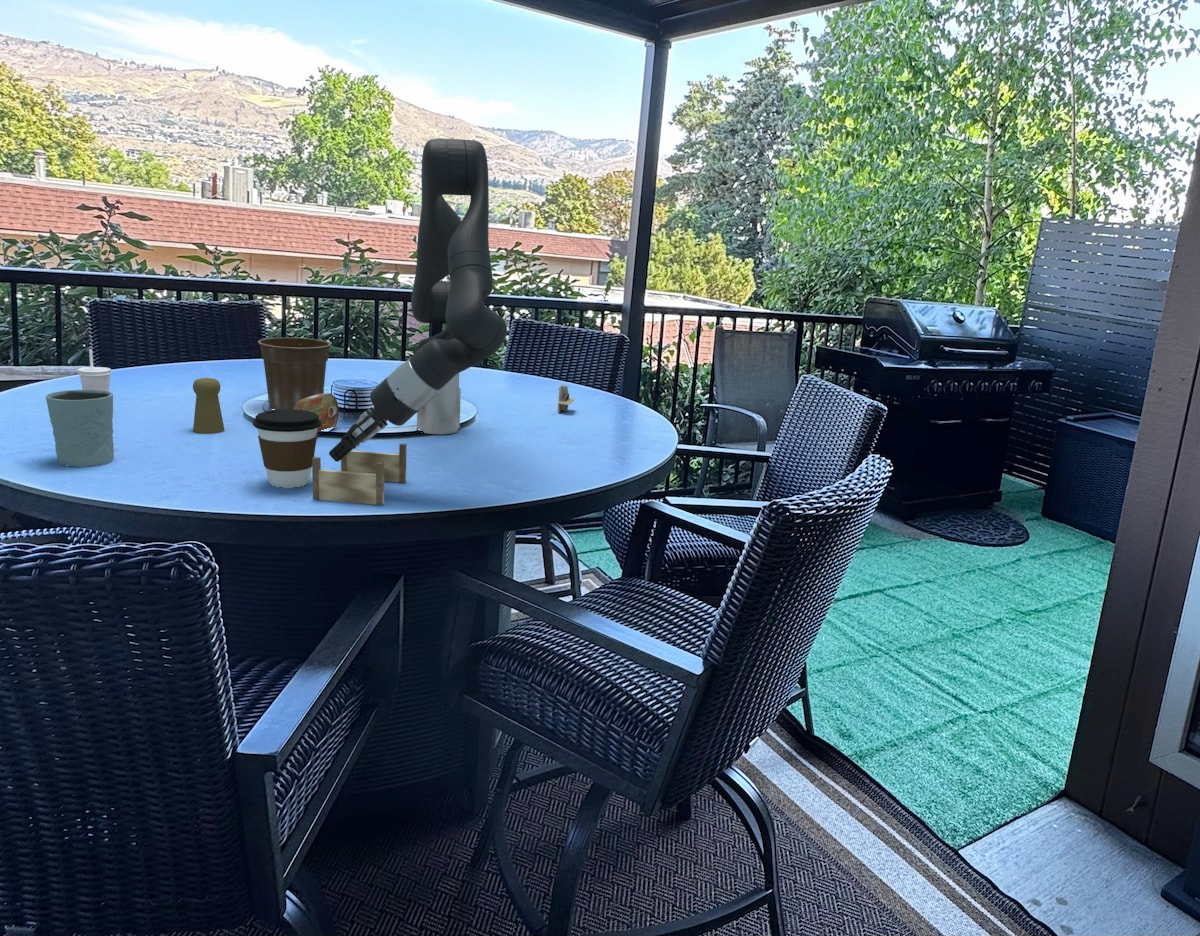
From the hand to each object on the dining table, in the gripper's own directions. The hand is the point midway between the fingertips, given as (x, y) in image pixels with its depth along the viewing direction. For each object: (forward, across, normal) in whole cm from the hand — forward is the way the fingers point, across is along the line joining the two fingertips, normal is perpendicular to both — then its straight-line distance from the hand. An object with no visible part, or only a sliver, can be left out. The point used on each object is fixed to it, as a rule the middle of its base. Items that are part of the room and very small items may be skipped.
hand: (333, 457), depth 144 cm
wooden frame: (+1, 0, +7) cm, 7 cm away
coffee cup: (+10, 0, -2) cm, 10 cm away
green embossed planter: (+37, -4, -29) cm, 47 cm away
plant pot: (+26, -59, -18) cm, 67 cm away
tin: (+16, -36, -8) cm, 41 cm away
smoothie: (+51, -39, -44) cm, 77 cm away
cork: (+31, -32, -23) cm, 50 cm away
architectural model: (-18, -82, +26) cm, 87 cm away
